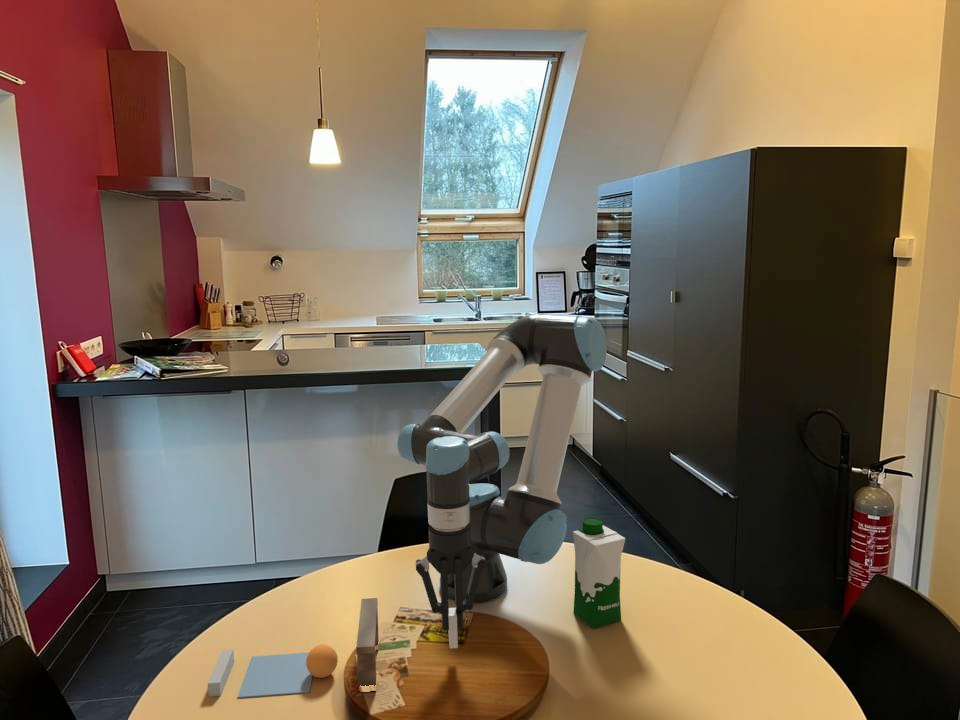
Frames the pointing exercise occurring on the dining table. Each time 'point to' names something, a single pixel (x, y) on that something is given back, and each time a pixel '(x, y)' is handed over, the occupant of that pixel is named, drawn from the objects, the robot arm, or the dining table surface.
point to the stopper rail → (221, 673)
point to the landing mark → (276, 675)
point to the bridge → (367, 642)
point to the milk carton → (597, 573)
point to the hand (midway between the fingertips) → (453, 643)
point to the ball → (321, 661)
